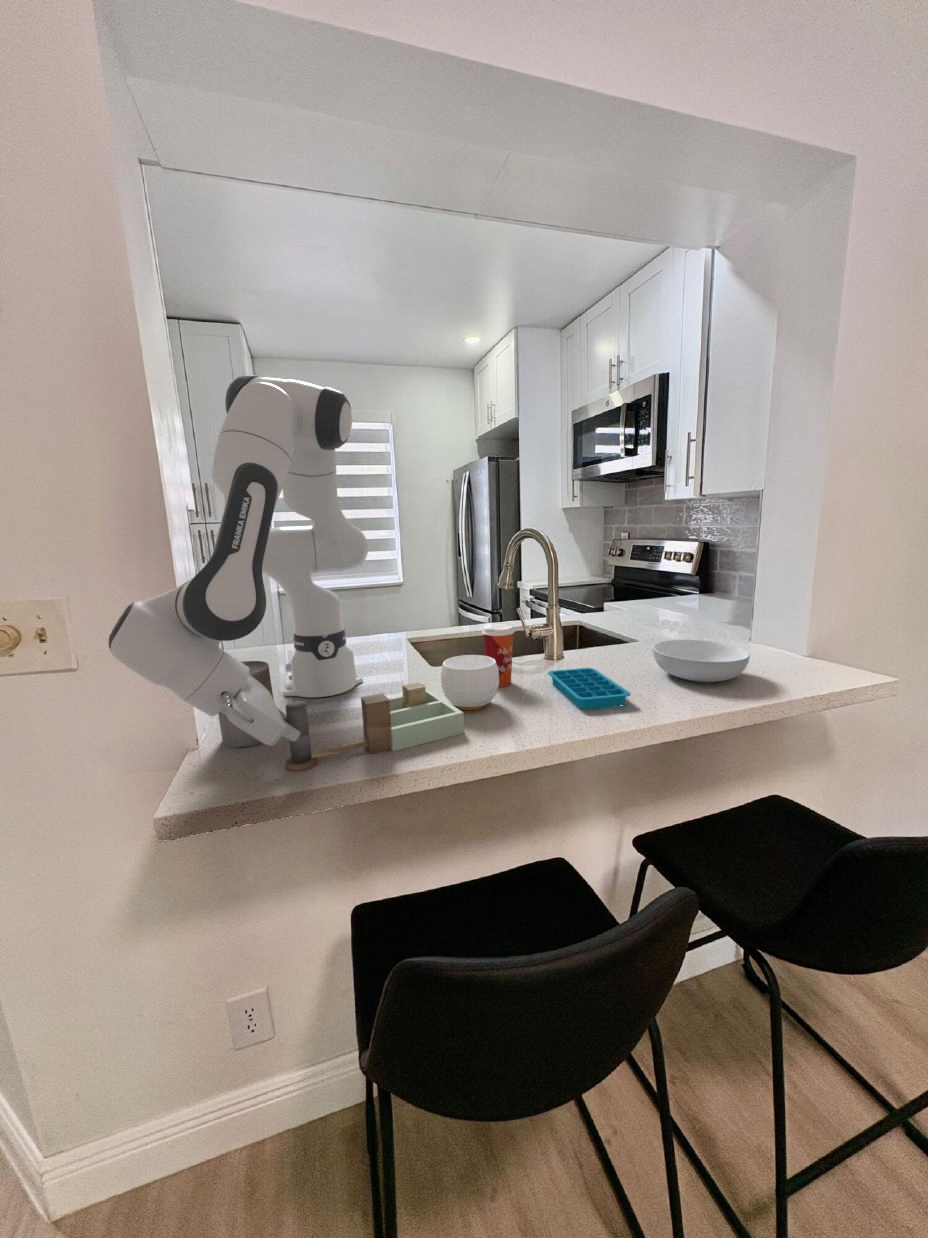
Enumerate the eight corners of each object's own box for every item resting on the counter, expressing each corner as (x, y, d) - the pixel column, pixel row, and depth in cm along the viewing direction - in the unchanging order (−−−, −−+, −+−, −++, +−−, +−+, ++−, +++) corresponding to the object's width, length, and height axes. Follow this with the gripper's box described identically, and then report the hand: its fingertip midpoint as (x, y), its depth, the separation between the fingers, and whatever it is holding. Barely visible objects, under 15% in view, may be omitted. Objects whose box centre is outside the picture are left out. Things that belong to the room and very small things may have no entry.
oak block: (404, 718, 100) (402, 685, 99) (420, 714, 102) (418, 682, 101) (410, 724, 97) (408, 690, 96) (427, 720, 99) (425, 686, 98)
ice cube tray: (578, 713, 100) (578, 699, 100) (546, 683, 120) (546, 671, 119) (632, 708, 102) (633, 694, 101) (592, 679, 122) (592, 667, 121)
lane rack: (365, 722, 99) (364, 703, 98) (429, 707, 106) (428, 689, 105) (393, 751, 86) (391, 729, 85) (464, 732, 92) (463, 712, 91)
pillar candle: (261, 722, 101) (252, 651, 98) (287, 734, 94) (277, 658, 92) (213, 740, 94) (200, 663, 91) (237, 754, 87) (225, 672, 84)
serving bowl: (727, 698, 105) (729, 666, 104) (635, 678, 120) (636, 650, 119) (761, 675, 119) (763, 647, 117) (675, 660, 134) (676, 635, 133)
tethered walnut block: (285, 761, 84) (278, 702, 82) (385, 739, 91) (381, 684, 89) (287, 774, 79) (280, 712, 77) (393, 750, 86) (389, 693, 84)
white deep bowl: (448, 694, 113) (446, 653, 111) (502, 696, 111) (501, 654, 109) (436, 715, 101) (434, 669, 99) (496, 717, 99) (495, 670, 97)
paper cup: (506, 690, 115) (505, 631, 112) (477, 685, 119) (475, 628, 116) (520, 680, 121) (519, 624, 118) (493, 676, 125) (491, 622, 123)
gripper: (240, 687, 66) (321, 738, 73) (230, 654, 84) (295, 697, 90) (208, 725, 65) (293, 774, 71) (204, 684, 83) (272, 726, 89)
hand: (294, 731), depth 81 cm, fingers closed on tethered walnut block, 3 cm apart
